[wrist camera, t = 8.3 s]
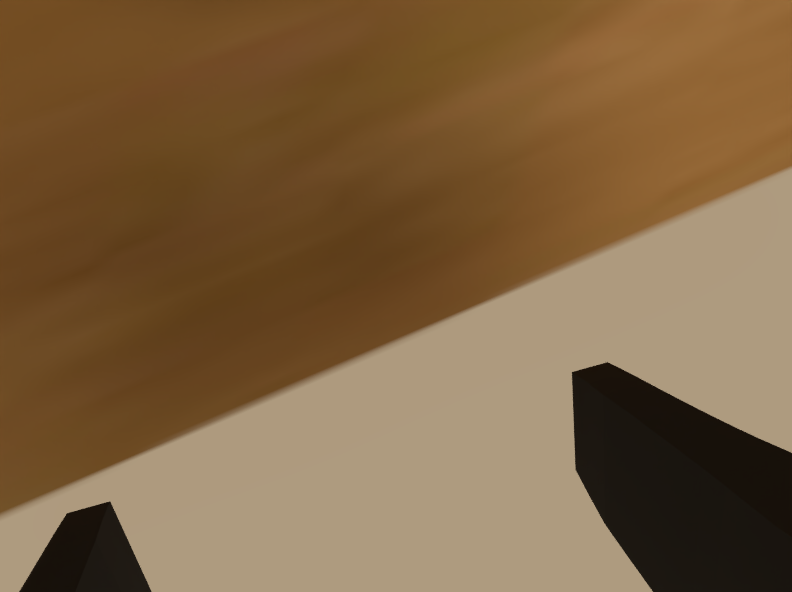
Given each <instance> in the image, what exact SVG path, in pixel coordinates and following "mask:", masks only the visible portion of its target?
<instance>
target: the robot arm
mask: <svg viewBox="0 0 792 592" xmlns="http://www.w3.org/2000/svg"><path fill="white" fill-rule="evenodd" d="M572 385H573V410H574V438H575V464H576V471H577V473H578V475H579V477H580V479H581V481H582V483H583V484H584V486H585V488H586V490H587V492H588V494H589V496H590V498H591V500H592V501H593V503H594V505H595V507H596V509H597V510H598V512H599V514H600V516H601V518H602V519H603V521H604V523H605V524H606V526H607V527H608V529H609V530H610V532H611V533H612V535H613V536H614V537H615V539H616V540H617V542H618V543H619V544H620V546H621V547H622V549H623V550H624V552H625V553H626V554H627V556H628V557H629V559H630V560H631V562H632V563H633V564H634V566H635V567H636V569H637V570H638V571H639V573H640V574H641V575H642V577H643V578H644V580H645V581H646V582H647V584H648V585H649V587H650V588H651V589H652V591H653V592H792V453H791V452H788V451H786V450H784V449H781V448H779V447H777V446H775V445H772V444H770V443H768V442H765V441H763V440H761V439H758V438H756V437H754V436H752V435H750V434H748V433H746V432H744V431H742V430H739V429H737V428H735V427H733V426H731V425H729V424H727V423H725V422H723V421H721V420H719V419H717V418H715V417H712V416H710V415H709V414H707V413H705V412H703V411H701V410H698V409H697V408H695V407H693V406H691V405H689V404H687V403H685V402H683V401H681V400H679V399H677V398H675V397H674V396H672V395H670V394H668V393H666V392H664V391H662V390H660V389H658V388H656V387H655V386H653V385H651V384H649V383H647V382H645V381H643V380H641V379H639V378H638V377H636V376H634V375H632V374H630V373H628V372H626V371H624V370H622V369H620V368H618V367H616V366H614V365H612V364H610V363H608V362H607V363H603V364H600V365H596V366H593V367H589V368H586V369H582V370H579V371H575V372H572ZM19 592H151V590H150V588H149V585H148V583H147V581H146V579H145V577H144V574H143V572H142V570H141V568H140V566H139V563H138V561H137V559H136V557H135V555H134V553H133V550H132V548H131V546H130V544H129V542H128V539H127V537H126V535H125V533H124V531H123V529H122V526H121V524H120V522H119V520H118V518H117V516H116V513H115V511H114V509H113V507H112V505H111V502H106V503H103V504H99V505H96V506H92V507H88V508H85V509H81V510H78V511H74V512H70V513H67V514H66V516H65V518H64V519H63V521H62V522H61V524H60V525H59V527H58V528H57V530H56V532H55V534H54V535H53V537H52V538H51V540H50V542H49V543H48V545H47V547H46V548H45V550H44V552H43V553H42V555H41V557H40V558H39V560H38V562H37V563H36V565H35V567H34V568H33V570H32V572H31V574H30V575H29V577H28V578H27V580H26V582H25V583H24V585H23V587H22V588H21V590H20V591H19Z"/></svg>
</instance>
